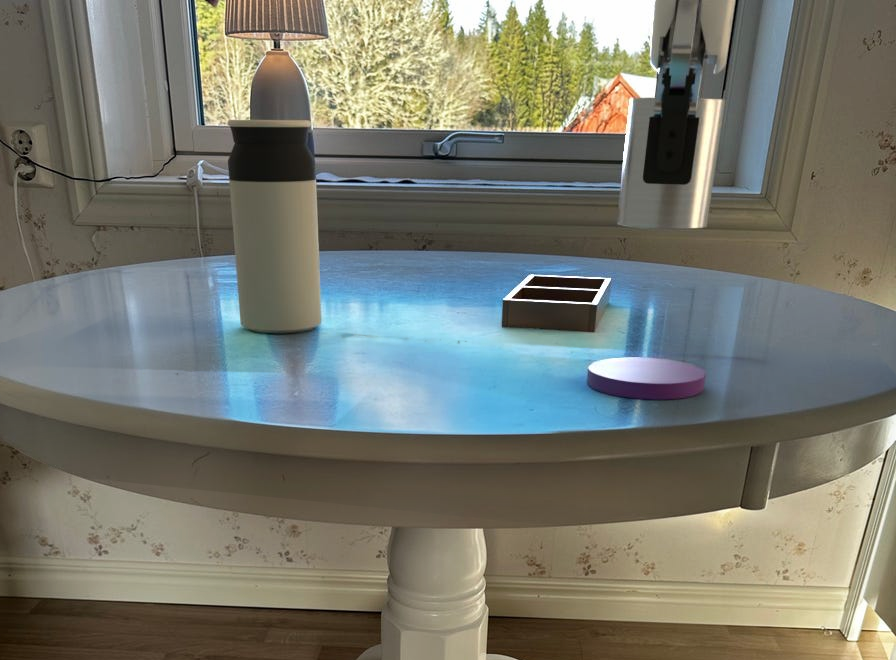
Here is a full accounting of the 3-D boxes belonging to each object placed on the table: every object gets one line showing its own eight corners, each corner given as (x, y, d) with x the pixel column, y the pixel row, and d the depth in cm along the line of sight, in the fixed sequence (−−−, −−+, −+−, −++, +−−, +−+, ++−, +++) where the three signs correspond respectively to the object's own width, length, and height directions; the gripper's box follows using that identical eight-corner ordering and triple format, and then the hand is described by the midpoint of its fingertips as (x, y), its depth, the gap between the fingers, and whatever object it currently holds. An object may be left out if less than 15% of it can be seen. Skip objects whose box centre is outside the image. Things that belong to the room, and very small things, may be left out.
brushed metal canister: (706, 222, 72) (724, 100, 68) (707, 230, 66) (726, 98, 62) (619, 219, 73) (632, 99, 69) (613, 227, 67) (627, 97, 64)
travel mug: (313, 335, 91) (304, 120, 82) (231, 333, 91) (214, 119, 83) (327, 320, 98) (320, 120, 89) (251, 318, 98) (237, 119, 90)
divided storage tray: (608, 308, 106) (611, 278, 104) (594, 338, 91) (597, 304, 89) (527, 303, 108) (529, 274, 106) (500, 332, 93) (502, 299, 91)
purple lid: (703, 375, 78) (705, 361, 77) (703, 403, 70) (706, 387, 70) (592, 368, 80) (593, 354, 79) (581, 394, 72) (582, 379, 72)
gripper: (781, -178, 51) (725, 190, 60) (762, -111, 66) (719, 176, 75) (639, -171, 53) (604, 186, 62) (652, -107, 68) (622, 174, 76)
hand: (667, 178), depth 68 cm, fingers closed on brushed metal canister, 6 cm apart
